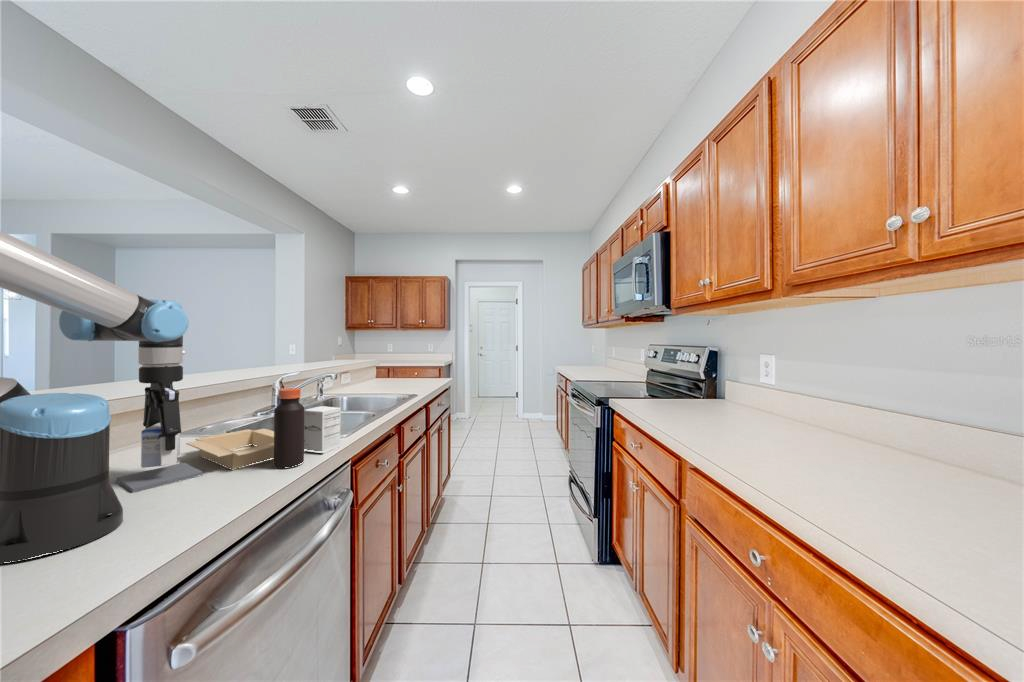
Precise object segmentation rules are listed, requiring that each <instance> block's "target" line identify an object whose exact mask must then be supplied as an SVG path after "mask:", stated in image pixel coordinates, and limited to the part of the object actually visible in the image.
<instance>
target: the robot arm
mask: <svg viewBox="0 0 1024 682" xmlns="http://www.w3.org/2000/svg"><path fill="white" fill-rule="evenodd" d="M0 288H1V289H4V290H6V291H8V292H12V293H15V294H18V295H20V296H22V297H26V298H28V299H31V300H33V301H36V302H39V303H41V304H44V305H47V306H50V307H52V308H55V309H57V310H60V311H61V312H60V314H59V319H58V320H59V321H58V323H59V329H60V331H61V333H62V335H63V336H64V337H65V338H67V339H69V340H72V341H88V342H93V341H97V342H98V341H99V342H100V341H101V342H103V341H108V342H111V341H112V342H113V341H115V342H116V341H117V342H121V341H122V342H124V341H125V342H127V341H128V342H133V341H134V342H138V348H137V349H138V350H137V351H138V364H139V365H140V367H138V381H139V383H141V384H150V385H149V386H146V387H145V388H144V394H145V395H144V396H145V397H144V408H143V421H142V422H143V423H142V426H143V427H145V429H146V428H148V427H150V426H153V425H155V424H157V423H160V424H161V430H162V434H159V435H158V438H160V465H161V466H160V467H163V466H162V465H164V466H168V465H170V464H176V463H178V456H177V435H178V433H180V434H181V433H182V428H181V427H182V423H181V413H180V400H179V399H180V398H179V397H180V390H175V388H174V385H173V383H174V382H180V381H182V380H183V379H184V367H183V366H182V365H180V364H182V363H184V362H183V361H184V360H183V359H184V357H183V355H184V356H185V355H186V351H185V350H184V349H183V347H184V346H183V342H184V341H183V340H184V335H185V334H186V332H187V331H188V328H189V317H188V315H187V314H186V312H185V311H184V310H183V306H182V304H181V303H180V302H179V301H176V300H175V301H174V300H169V299H168V300H167V299H163V300H162V299H153V298H152V299H151V298H150V299H147V298H145V297H143V296H140V295H139V294H136V293H134V292H131V291H130V290H127V289H125V288H123V287H120V286H119V285H116V284H114V283H112V282H110V281H109V280H106V279H104V278H102V277H100V276H98V275H96V274H93V273H91V272H89V271H87V270H85V269H83V268H81V267H79V266H77V265H74V264H72V263H70V262H68V261H66V260H64V259H61V258H59V257H57V256H55V255H53V254H52V253H48V252H46V251H45V250H42V249H40V248H38V247H36V246H34V245H32V244H30V243H28V242H25V241H23V240H21V239H19V238H17V237H15V236H13V235H11V234H8V233H6V232H4V231H2V230H0ZM109 406H110V404H109V402H108V400H107V399H105V398H103V397H102V396H98V395H94V394H89V393H77V392H76V393H69V392H52V393H51V392H47V393H46V392H45V393H37V394H31V393H30V392H29V391H28V390H27V389H26V388H25V387H24V386H23V385H22V384H21V383H19V382H18V381H17V380H16V379H15V378H12V377H2V376H0V563H4V562H10V561H11V562H12V561H18V560H23V559H28V558H31V557H35V556H39V555H42V554H46V553H53V552H57V551H60V550H65V549H68V548H72V547H75V548H77V547H76V546H78V547H80V546H83V545H85V543H86V544H89V543H90V541H91V542H93V541H96V540H98V539H99V537H100V538H102V537H104V536H106V535H108V534H110V533H112V532H113V531H115V530H116V529H117V528H119V527H120V526H121V525H122V524H123V522H124V507H123V506H122V503H121V502H120V500H119V498H118V496H117V493H116V492H115V490H114V488H113V486H112V484H111V482H110V432H111V430H110V429H111V427H110V426H111V422H112V416H111V413H110V407H109ZM118 526H119V527H118ZM114 529H115V530H114ZM109 532H110V533H109ZM107 533H108V534H107ZM105 534H106V535H105ZM103 535H104V536H103ZM101 536H102V537H101ZM97 538H98V539H97ZM95 539H96V540H95ZM92 540H93V541H92ZM82 544H83V545H82ZM79 545H80V546H79ZM72 549H73V548H72Z"/></svg>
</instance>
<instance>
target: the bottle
mask: <svg viewBox="0 0 1024 682" xmlns="http://www.w3.org/2000/svg"><path fill="white" fill-rule="evenodd" d="M300 399H301V388H299V387H298V388H297V387H295V388H293V387H291V388H282V389H278V400H279V404H278V405H277V406H276V407H275V408H274V409H273V410H274V413H273V417H274V419H273V431H274V460H273V467H274V468H275V467H276V469H278V468H285V467H292V466H295V465H298V464H300V463H302V462H303V461H304V462H305V452H304V410H305V406H304V405H302V403H300ZM304 462H303V463H304Z"/></svg>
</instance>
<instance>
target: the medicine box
mask: <svg viewBox="0 0 1024 682" xmlns="http://www.w3.org/2000/svg"><path fill="white" fill-rule="evenodd" d="M159 434H162V430H161V424H160V423H157V424H155V425H153V426H150V427H148V428H145V429H142V430H141V436H140V437H141V446H140V447H141V448H140V451H141V452H140V457H141V458H140V465H141V466H140V467H141V468H142V469H143V468H156V467H165V465H162V466H161V465H160V438H158V435H159ZM180 454H181V433H178V435H177V457H178V456H180Z"/></svg>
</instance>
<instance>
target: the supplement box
mask: <svg viewBox="0 0 1024 682" xmlns="http://www.w3.org/2000/svg"><path fill="white" fill-rule="evenodd" d="M341 410H342V407H336V406H335V407H334V406H325V405H320V406H316V407H315V406H314V407H311V408H306V409H304V449H307V450H314V451H324V450H327V449H329V448H332V447H334V446H337V445H339V444H340V445H341V421H342V420H341V416H342V415H341V414H342V413H341V412H342V411H341Z"/></svg>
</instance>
